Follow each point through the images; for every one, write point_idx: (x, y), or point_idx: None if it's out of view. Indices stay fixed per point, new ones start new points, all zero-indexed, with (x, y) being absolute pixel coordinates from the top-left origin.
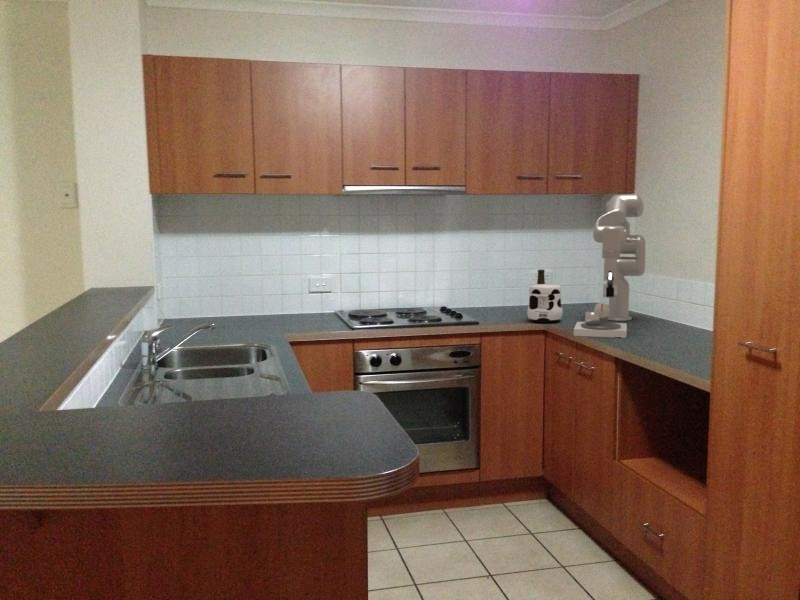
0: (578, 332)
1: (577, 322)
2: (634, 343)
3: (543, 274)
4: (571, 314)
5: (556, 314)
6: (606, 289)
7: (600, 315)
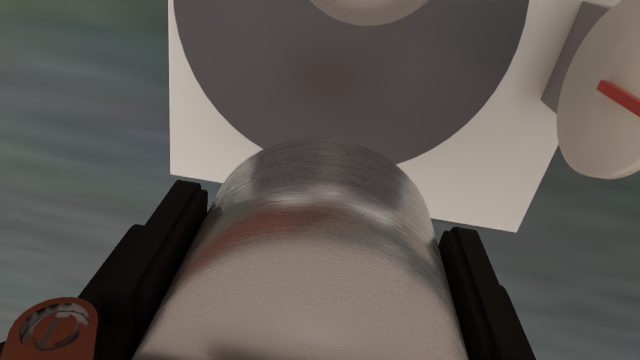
0: None
1: None
2: (15, 163)
3: None
4: None
5: None
6: (122, 259)
7: (588, 58)
